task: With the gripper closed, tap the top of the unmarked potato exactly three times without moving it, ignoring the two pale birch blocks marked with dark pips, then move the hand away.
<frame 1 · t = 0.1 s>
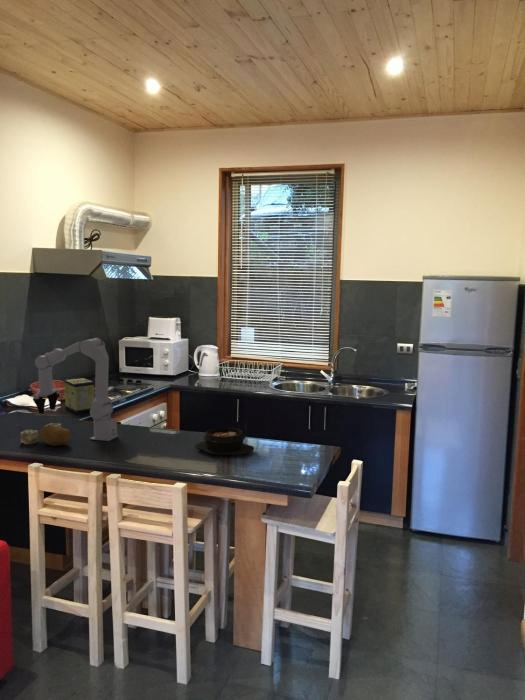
hand: (47, 411, 257), 10 cm above the breakfast bar, fingers open, 7 cm apart
pip block four: (29, 442, 244), on the breakfast bar
casserole: (224, 452, 233), on the breakfast bar
potato: (56, 445, 240), on the breakfast bar
pip block two: (53, 435, 255), on the breakfast bar
protein box: (80, 409, 304), on the breakfast bar
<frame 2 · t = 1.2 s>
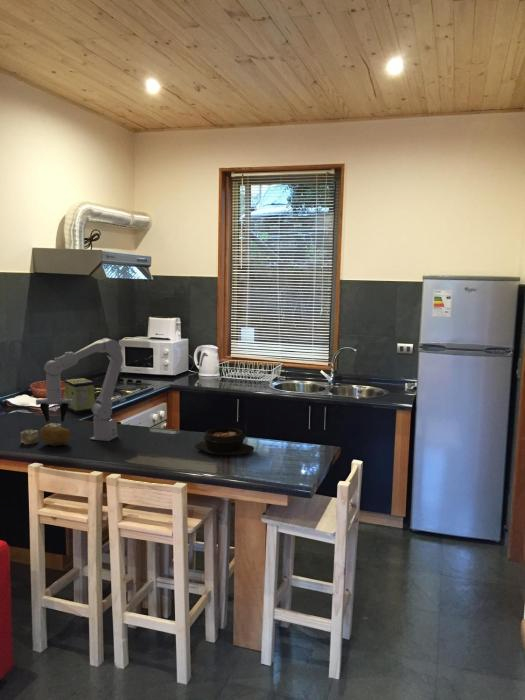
hand: (55, 421, 239), 10 cm above the breakfast bar, fingers open, 6 cm apart
nothing on the breakfast bar moved.
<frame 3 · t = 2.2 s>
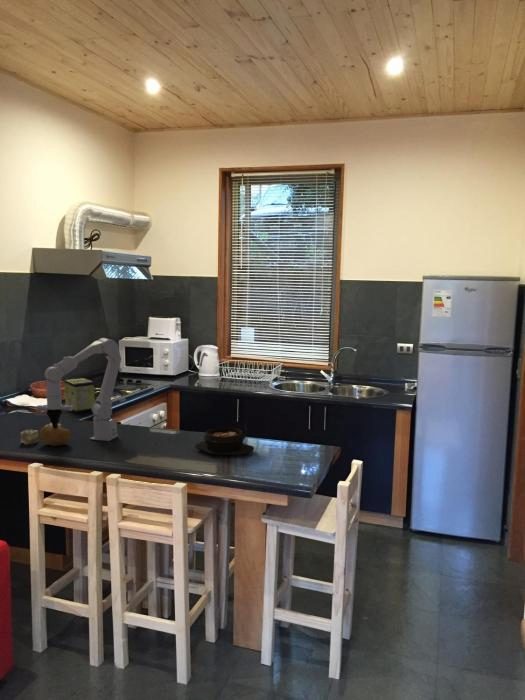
hand: (55, 427, 239), 8 cm above the breakfast bar, fingers closed, pressing on potato
potato: (56, 445, 240), on the breakfast bar, touching gripper
everything else where it was.
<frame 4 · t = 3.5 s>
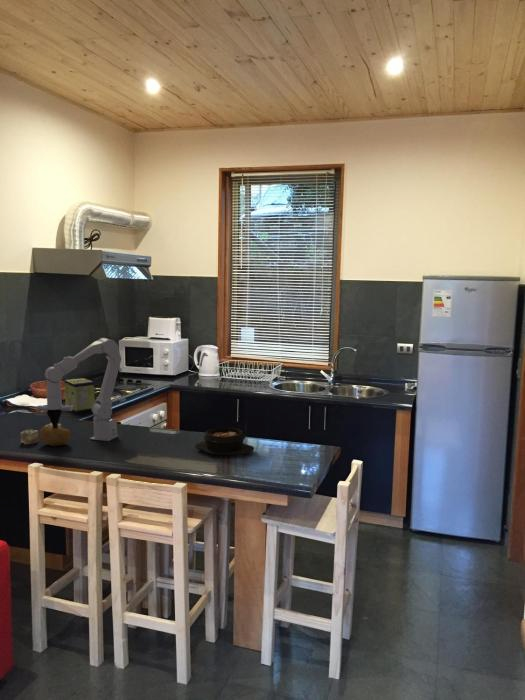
hand: (55, 427, 239), 8 cm above the breakfast bar, fingers closed, pressing on potato
potato: (56, 445, 240), on the breakfast bar, touching gripper
everything else where it was.
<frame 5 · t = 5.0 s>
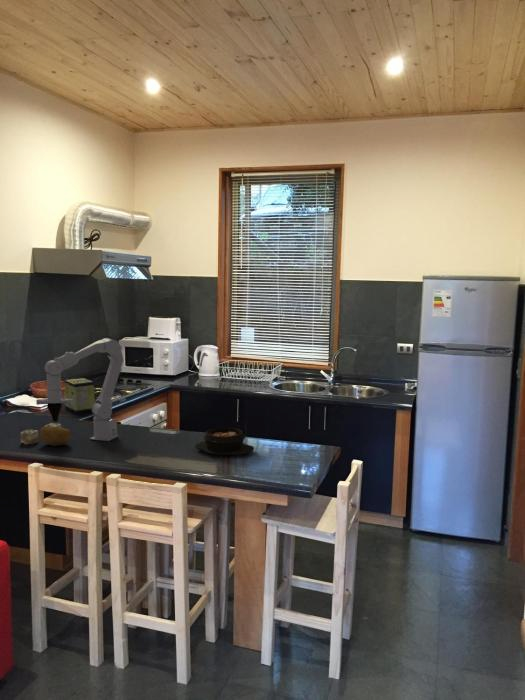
hand: (55, 421, 239), 10 cm above the breakfast bar, fingers closed
potato: (56, 445, 240), on the breakfast bar
everything else where it was.
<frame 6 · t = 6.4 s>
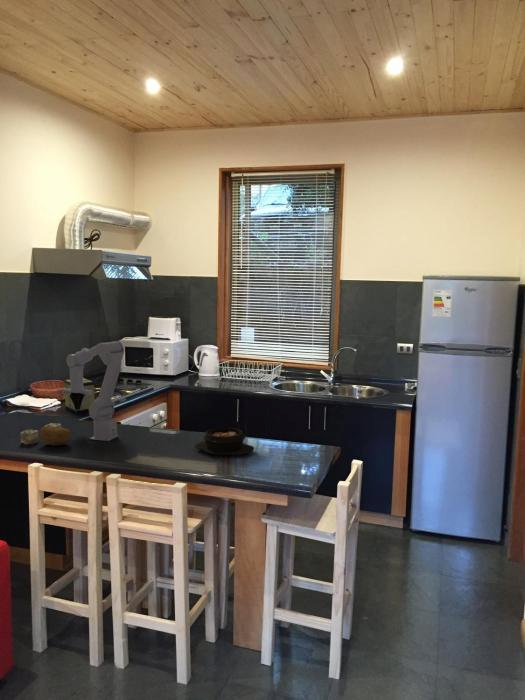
hand: (77, 409, 260), 10 cm above the breakfast bar, fingers closed
nothing on the breakfast bar moved.
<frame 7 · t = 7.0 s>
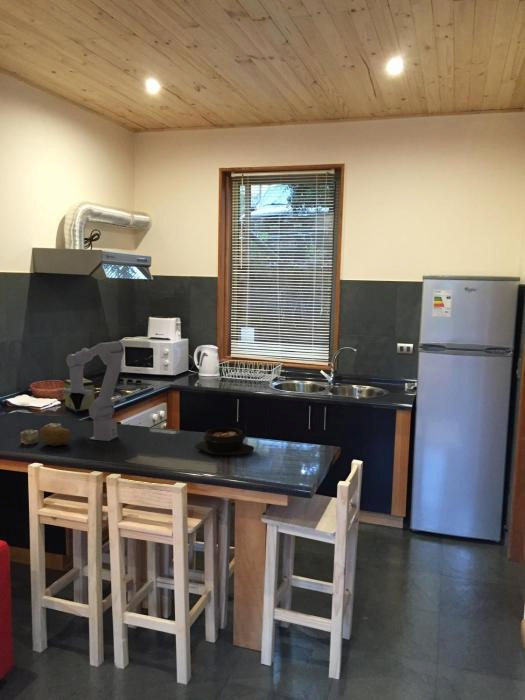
hand: (77, 409, 260), 10 cm above the breakfast bar, fingers closed
nothing on the breakfast bar moved.
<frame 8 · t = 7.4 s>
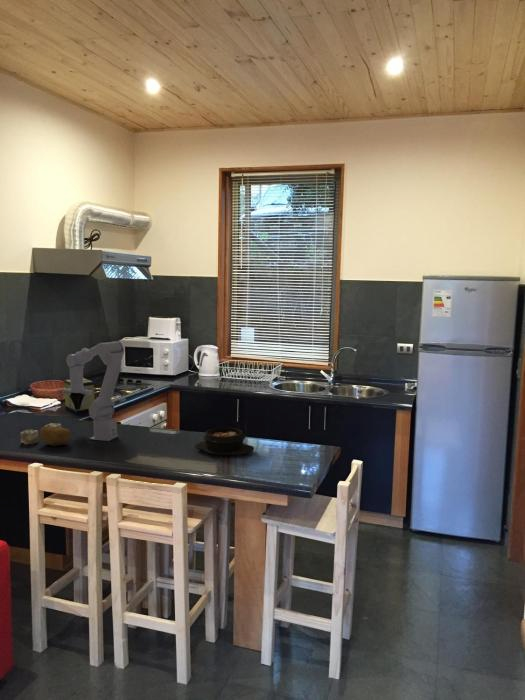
hand: (77, 409, 260), 10 cm above the breakfast bar, fingers closed
nothing on the breakfast bar moved.
at the end: potato moved 0.2 cm from its start; potato touching breakfast bar; the gripper is holding nothing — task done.
